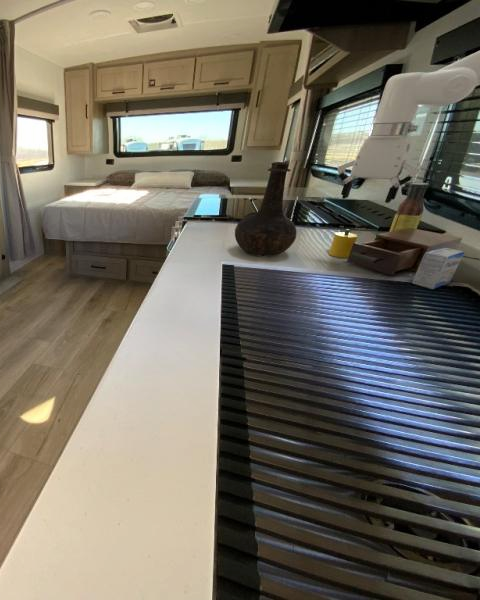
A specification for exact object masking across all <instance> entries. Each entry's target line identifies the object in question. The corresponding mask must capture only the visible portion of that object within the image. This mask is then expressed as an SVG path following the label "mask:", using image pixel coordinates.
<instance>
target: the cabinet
mask: <svg viewBox="0 0 480 600" xmlns="http://www.w3.org/2000/svg"><path fill="white" fill-rule="evenodd" d="M379 239H387V240H391V241H395V242H400V243H404V244H409V245H413V246H417V247H422V248H424V249H423V251H422V253H421V256H420V258H419V260H418V262H417V264H416V266H414V267H410V268H406V269H405V270H407V271H411V272H414V273H416V272H417V270H418V268H419V266H420V263H421V261H422V259H423V256H424V254H425V253H426V252H430V251H433V250H437V249H440V248H449V249H455V250H458V248H459V246H460V244H461V242H462V240H463V237H460V236H455V235H449V234H444V233H440V232H439V233H438V232H434V231H429V230H422V229H418V228H417V229H413V228H406V229H401V230H396V231H391V232H389V231H387V232H382V233H376V234H375V237H374V240H379Z"/></svg>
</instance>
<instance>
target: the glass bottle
mask: <svg viewBox="0 0 480 600" xmlns="http://www.w3.org/2000/svg"><path fill="white" fill-rule="evenodd" d="M270 164H271V167H269V168H268V169H267V171H269V176H268V180H267V185H266V188H265V191H264V195H263V198H262V201H261V203H260V206H259V208H258V210H257V212H256V211H253V212H250V213H248V214H246V215H245V216H244V217H243V218H242V219H241V220H240V221H239V222H238V223H237V224H236V226H235V228H234V237H235V241H236V243H237V245H238V247H240V249H241V250H242V251H244V252H245V253H246V254H248V255H252V256H256V257H273V256H277V255H280V254H283V253H284V252H286V251H287V250H288V249H290V248H291V246H292V245H293V244H294V243H295V241H296V239H297V234H298V232H297V227H296V225H295V223H294V222H293V221H292V220H291V219H290V218H288V217H287V216H285V213H284V195H285V186H286V181H287V180H286V179H287V173H289V172H291V171H292V170H291V169H290V168H289V165H290V164H289V163H288V162H283V161H274V162H271V163H270Z"/></svg>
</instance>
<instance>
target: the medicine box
mask: <svg viewBox="0 0 480 600" xmlns="http://www.w3.org/2000/svg"><path fill="white" fill-rule="evenodd" d="M465 254H466V253H465V251H464V250H460V249H457V250H455V249H449V248H440V249H437V250H433V251H430V252H426V253H425V254H424V256H423V259H422V261H421V263H420V266H419V268H418V270H417V272H415V275H414V277H413V279H412V283H411V284H413V285H415V286H420V287H423V288H426V289H430V290H436V289H437V288H440V287H442V286H446V285H448V284H450V283H451V281H452V279H453V277H454V275H455V273H456V271H457V269H458V267H459V265H460V263H461V261H462V259H463V258H464V255H465Z"/></svg>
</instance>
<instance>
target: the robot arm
mask: <svg viewBox="0 0 480 600" xmlns="http://www.w3.org/2000/svg"><path fill="white" fill-rule="evenodd" d="M478 86H480V50H478V51H476V52H474V53H471V54H469V55H467V56H464V57H462V58H460V59H459V60H456V61H454V62H452V63H450V64H448V65H446V66H444V67H442V68H440V69H438V70H436V71H430V72H429V71H428V72H424V71H415V72H405V73H404V72H403V73H399V74H395V75H392V76H391V77H389V78H388V80H387V82H386V84H385V86H384V89H383V91H382V96H381V99H380V101H379V104H378V108H377V111H376V114H375V117H374V120H373V123H372V126H371V130H370V132H369V136H368V137H365V139H364V140H363V142H362V144H361V146H360V148H359V150H358V152H357V155H356V157H355V159H354V160H352V161H349V162H347V163H344V164H341V165H339V166H337V172H338V177H339V179H340V180H341V181H342V182H343V183H342V184H343V186H342V189H341V190H342V191H341V193H340V194H341V196H342V197H341V199H343V200H344V199H347V198H349V197H350V193H351V190H352V187H353V181H354V180H355V179H356V178H360V179H375V180H389V181H390V183H391V184H392V185H391V187H390V188H389V189H388V193H387V195H386V197H385V199H384V203H385V204H389V203H391V201H392V200H395V199H396V196H397V193H398V191H399V189H400V187H401V186H403V185H405V184H406V183H408V182H410V181H411V180H412V179H414V178H415V177H416V176H417V175H418V174H419V173H420V172H421V169H420V168H419V167H416V166H415V165H413V164H411V163H409V162H408V161H407V157H408V154H409V151H410V146H411V141H412V136H408V135H409V134H410V133H413V132H418V130H419V126H420V125H419V124H417V125H415V124H414V123H413V122H414V118H415V116H416V113H417V111H418V109H419V107H420V108H432V107H433V108H434V107H435V108H436V107H445V106H450V105H454V104H456V103H458V102H461V101H462V100H465V98H467V97H468V96H469V95H470V94H471V93H472V92H473V91H474V90H475V88H476V87H478ZM349 168H351V171H350V175H348V174H347V173H346V169H349ZM403 170H406V171H408V172H409V174H408V175H406V177H404V178H402V179H401V178H400V177H399V176H401V175H402V173H403Z"/></svg>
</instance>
